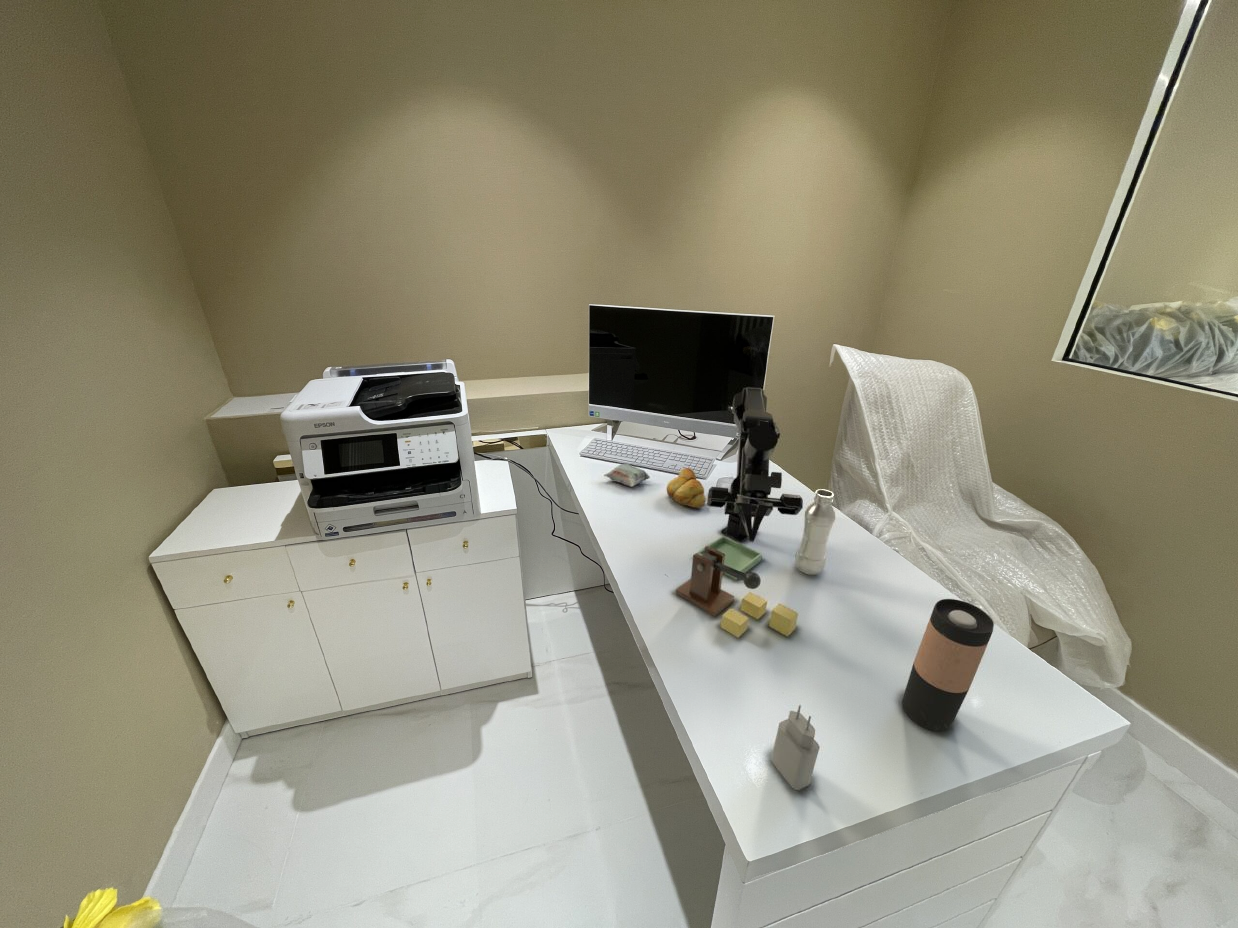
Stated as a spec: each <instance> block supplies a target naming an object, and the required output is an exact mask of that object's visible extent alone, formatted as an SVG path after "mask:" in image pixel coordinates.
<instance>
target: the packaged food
mask: <svg viewBox="0 0 1238 928" xmlns="http://www.w3.org/2000/svg"><path fill="white" fill-rule="evenodd" d="M603 477H606V478H609V479H610V480H612V481H615V482H618V483H621V484H622V485H625V486H628V487H631V488H632V487H634V486H636V485H638V484H640V483H642V482H644V481H646V480H648V479H650V478H651V476H650V475H649V474H648V473H647V472H646V471H645V470H644V469H642V468H638V467H636V466H633V465H631V464H628V463H622V464H619V465H617V466H616V467H614V468H613V469H611V470H610V472H606V473H604V474H603Z"/></svg>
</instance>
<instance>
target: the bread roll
mask: <svg viewBox="0 0 1238 928" xmlns="http://www.w3.org/2000/svg"><path fill="white" fill-rule="evenodd" d="M666 493H667V496H669V498H671V499H673V500H674V502H676V503H677V504H679V505H683V506H688V507H690V508H702V507H703V506H705V504H706V502H707V498H706V496H705V488H704V486H703V484H702V482H701V481H700V480H698V479H697V475H696V473H695V471H694V470H693V469H691V468H689V467H688V468H687V467H686V468H683V469H682V470H680V472H679V474H678V475H677V477H674V478H673V479H671V480H670V481H669V482H668V483H667V485H666Z"/></svg>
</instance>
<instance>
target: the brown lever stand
mask: <svg viewBox="0 0 1238 928" xmlns="http://www.w3.org/2000/svg"><path fill="white" fill-rule="evenodd" d="M704 548H705V551H704V554H705V553H708V554H711V555H713V556H716V557H717V562H719V563H721V564H723V565H724V561H725V554H724V553H722V552H720V551H718V550H716V549H714V548H712V547H709V546H708V545H705V546H704ZM697 553H698V552H696V553H694V554H693V556H692V564H691V573H690V579H688V580H687V581H686V582H684V583H683V584H681V585H679V586H678V587H677V588H676V589H675V595H677V596H678V597H680V598H682V599H684V600H685V601H687V602H689V603H691V604H692V605H694V606H696V607H697V608H699V609H701V610H703V611H704V612H706V613H708V614H709V615H711V616H712V617H716V616H718V615H719V614H720V613H721V612H722V611H723V610H725V609H726V608H728V606H729V605H731V604H732V603H733V602H734V600H735V595H733V594H731V593H729V592H727V591H725V590H723V589H722V583H723V575H724V573H723V572H722V571H720V570H717V569H714V570H713V567H714V562H712V561H711V560H709V559H707V558H705V557H703V556H701V555H699V554H697Z"/></svg>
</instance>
